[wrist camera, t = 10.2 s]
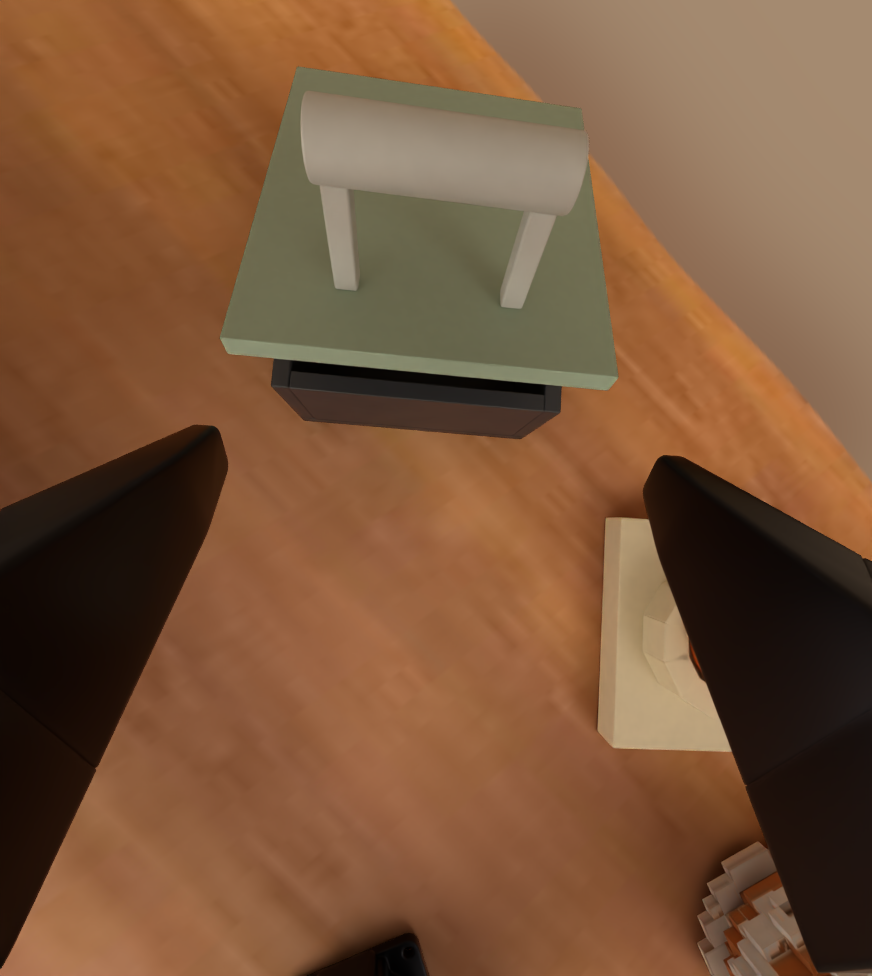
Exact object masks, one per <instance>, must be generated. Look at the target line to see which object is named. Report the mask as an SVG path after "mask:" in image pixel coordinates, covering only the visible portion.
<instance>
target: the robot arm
mask: <svg viewBox="0 0 872 976" xmlns="http://www.w3.org/2000/svg"><path fill="white" fill-rule="evenodd" d="M227 471H228V459H227V455H226V452H225V448H224V445H223V441H222V438H221V434H220V432H219V430H218V429H217V428H216V427H215V426H209V425H192V426H190V427H187V428H185V429H183V430H181V431H178V432H176V433H174V434H171V435H169V436H167V437H165V438H162V439H160V440H158V441H155V442H153V443H151V444H149V445H146V446H144V447H142V448H139V449H137V450H135V451H133V452H130V453H128V454H126V455H123V456H121V457H119V458H117V459H114V460H112V461H110V462H107V463H105V464H103V465H100V466H98V467H96V468H94V469H91V470H89V471H87V472H84V473H82V474H80V475H78V476H75V477H73V478H71V479H68V480H66V481H64V482H62V483H59V484H57V485H55V486H52V487H50V488H48V489H46V490H43V491H41V492H39V493H36V494H34V495H32V496H29V497H27V498H25V499H23V500H20V501H18V502H16V503H13V504H11V505H9V506H7V507H4V508H2V509H1V511H0V969H1V968H2V966H3V965H4V963H5V961H6V959H7V957H8V956H9V954H10V952H11V950H12V948H13V946H14V944H15V942H16V940H17V938H18V935H19V933H20V931H21V929H22V927H23V925H24V923H25V921H26V918H27V916H28V914H29V912H30V910H31V908H32V906H33V904H34V901H35V899H36V897H37V895H38V893H39V891H40V889H41V887H42V885H43V882H44V880H45V878H46V876H47V874H48V872H49V870H50V868H51V865H52V863H53V861H54V859H55V857H56V855H57V853H58V851H59V848H60V846H61V844H62V842H63V840H64V838H65V836H66V834H67V831H68V829H69V827H70V825H71V823H72V821H73V819H74V817H75V814H76V812H77V810H78V808H79V806H80V804H81V802H82V800H83V797H84V795H85V793H86V791H87V789H88V787H89V785H90V783H91V781H92V778H93V776H94V774H95V772H96V769H95V768H96V767H97V766H98V765H99V763H100V760H101V758H102V756H103V754H104V752H105V750H106V748H107V746H108V744H109V741H110V739H111V737H112V735H113V733H114V731H115V729H116V727H117V724H118V722H119V720H120V718H121V716H122V714H123V712H124V710H125V707H126V705H127V703H128V701H129V699H130V697H131V695H132V693H133V690H134V688H135V686H136V684H137V682H138V680H139V678H140V676H141V673H142V671H143V669H144V667H145V665H146V663H147V661H148V659H149V656H150V654H151V652H152V650H153V648H154V646H155V644H156V642H157V639H158V637H159V635H160V633H161V631H162V629H163V627H164V625H165V622H166V620H167V618H168V616H169V614H170V612H171V610H172V608H173V605H174V603H175V601H176V599H177V597H178V595H179V593H180V591H181V588H182V586H183V584H184V582H185V580H186V578H187V576H188V574H189V571H190V569H191V567H192V565H193V563H194V561H195V559H196V557H197V554H198V552H199V550H200V548H201V546H202V544H203V542H204V539H205V537H206V535H207V532H208V530H209V527H210V524H211V521H212V518H213V515H214V512H215V509H216V506H217V503H218V499H219V496H220V493H221V490H222V487H223V484H224V481H225V478H226V475H227ZM643 499H644V503H645V507H646V511H647V515H648V519H649V523H650V527H651V531H652V535H653V539H654V543H655V547H656V550H657V554H658V557H659V560H660V563H661V566H662V569H663V571H664V574H665V577H666V579H667V582H668V584H669V587H670V590H671V592H672V595H673V598H674V600H675V603H676V606H677V608H678V611H679V613H680V616H681V619H682V621H683V624H684V627H685V629H686V632H687V635H688V637H689V640H690V642H691V645H692V648H693V650H694V653H695V656H696V658H697V661H698V663H699V666H700V669H701V671H702V674H703V677H704V679H705V682H706V685H707V687H708V690H709V692H710V695H711V698H712V700H713V703H714V706H715V708H716V711H717V714H718V716H719V719H720V721H721V724H722V727H723V729H724V732H725V735H726V737H727V740H728V743H729V745H730V748H731V750H732V753H733V756H734V758H735V761H736V764H737V766H738V769H739V771H740V774H741V777H742V779H743V782H744V784H745V785H747V786H746V791H747V793H748V796H749V799H750V801H751V804H752V807H753V809H754V812H755V814H756V817H757V820H758V822H759V825H760V828H761V830H762V833H763V835H764V838H765V841H766V843H767V846H768V849H769V851H770V854H771V857H772V859H773V862H774V865H775V867H776V870H777V872H778V875H779V878H780V880H781V883H782V886H783V888H784V891H785V894H786V896H787V899H788V901H789V904H790V907H791V909H792V912H793V915H794V917H795V920H796V923H797V925H798V928H799V930H800V933H801V936H802V938H803V941H804V944H805V946H806V949H807V951H808V954H809V956H810V958H811V961H812V963H813V965H814V967H815V969H816V971H817V972H818V973H872V561H870V560H868V559H866V558H863V559H862V557H861V555H859V554H857V553H856V552H854V551H852V550H850V549H848V548H846V547H845V546H843V545H841V544H839V543H837V542H836V541H834V540H832V539H830V538H828V537H827V536H825V535H823V534H821V533H819V532H818V531H816V530H814V529H812V528H810V527H809V526H807V525H805V524H803V523H801V522H800V521H798V520H796V519H794V518H792V517H791V516H789V515H787V514H785V513H783V512H782V511H780V510H778V509H776V508H774V507H773V506H771V505H769V504H767V503H765V502H763V501H762V500H760V499H758V498H756V497H754V496H753V495H751V494H749V493H747V492H745V491H744V490H742V489H740V488H738V487H736V486H735V485H733V484H731V483H729V482H727V481H726V480H724V479H722V478H720V477H718V476H717V475H715V474H713V473H711V472H709V471H708V470H706V469H704V468H702V467H700V466H699V465H697V464H695V463H693V462H691V461H690V460H688V459H686V458H684V457H681V456H670V455H663V456H661V457H659V458H658V459H657V461H656V462H655V464H654V466H653V469H652V471H651V473H650V475H649V477H648V479H647V481H646V483H645V485H644V488H643ZM406 947H411V948H412V949H410V950H406V949H405V948H406ZM307 976H429V973H428V970H427V966H426V963H425V960H424V957H423V953H422V950H421V947H420V944H419V940H418V938H417V937H416V936H415V935H414V934H412V933H407V934H403V935H401V936H399V937H396V938H394V939H392V940H389V941H387V942H385V943H382V944H380V945H378V946H375V947H373V948H371V949H368V950H366V951H364V952H361V953H359V954H356V955H354V956H352V957H349V958H347V959H345V960H342V961H340V962H338V963H335V964H333V965H331V966H328V967H326V968H324V969H321V970H319V971H317V972H314V973H312V974H309V975H307Z"/></svg>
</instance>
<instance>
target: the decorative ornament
mask: <svg viewBox="0 0 872 976" xmlns="http://www.w3.org/2000/svg"><path fill="white" fill-rule="evenodd" d="M721 864H722V866H723V868H724V870H725V873H724V874H722V875H721V876H719V877H717V878H715V879H714V880H712V881H710V882H708V883H707V885H708V888H709V890H710V892H711V895H709V896H707V897H705V898H704V899H702V901H703V903H704V906H705V908H706V911H704V912H703V913H701V914H699V915H697V917H698V919H699V921H700V924H701V926H702V928H703V931H704V933H705V935H706V938H704V939H702V940H701V941H699V942H697V944H698V947H699V949H700V951H701V954H702V956H703V958H704V960H705V963H706V965H707V967H708V970H709V972H710V974H711V976H872V973H818V972H817V971H816V969H815V967H814V965H813V963H812V961H811V958H810V956H809V954H808V951H807V949H806V946H805V944H804V941H803V938H802V936H801V933H800V930H799V928H798V925H797V923H796V920H795V917H794V915H793V912H792V909H791V907H790V904H789V901H788V899H787V896H786V894H785V891H784V888H783V886H782V883H781V880H780V878H779V875H778V872H777V870H776V867H775V865H774V862H773V859H772V857H771V854H770V851H769V849H766V848H765V847H764V846H763V845H762V844H761V843H760V842H758V841H757V842H756V843H754V844H752V845H750V846H749V847H747V848H745V849H743V850H741V851H740V852H738V853H736V854H734V855H733V856H731V857H729V858H727V859H726V860H724V861H722V862H721Z"/></svg>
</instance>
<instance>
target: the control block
mask: <svg viewBox="0 0 872 976" xmlns="http://www.w3.org/2000/svg"><path fill="white" fill-rule="evenodd" d="M598 732H599V733H600V734H601V736H602V737H603V738H604V739H605V740H606V741H607V742H608V743H609V744H610V745H611V746H612V747H613V748H623V749H656V750H688V751H721V752H732V750H731V748H730V745H729V743H728V740H727V737H726V735H725V732H724V729H723V727H722V724H721V721H720V719H719V716H718V714H717V711H716V708H715V706H714V703H713V700H712V698H711V695H710V692H709V690H708V687H707V685H706V682H705V679H704V677H703V674H702V672H701V671H700V669H699V668H698V667H697V665H696V663H695V661H694V659H693V656H692V653H691V648H690V640H689V637H688V635H687V632H686V629H685V627H684V624H683V621H682V619H681V616H680V613H679V611H678V608H677V606H676V603H675V600H674V598H673V595H672V592H671V590H670V587H669V584H668V582H667V579H666V577H665V574H664V571H663V569H662V566H661V563H660V560H659V557H658V554H657V550H656V547H655V543H654V539H653V535H652V531H651V527H650V523H649V519H639V518H625V517H607V518H606V523H605V549H604V575H603V601H602V627H601V653H600V679H599V705H598Z"/></svg>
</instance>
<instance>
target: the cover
mask: <svg viewBox="0 0 872 976" xmlns="http://www.w3.org/2000/svg"><path fill="white" fill-rule="evenodd" d="M588 154H589V137H588V133H587V132H586V131H585V130H584V123H583V116H582V110H581V108H575V107H568V106H561V105H555V104H548V103H541V102H535V101H528V100H521V99H514V98H507V97H501V96H494V95H487V94H480V93H474V92H467V91H460V90H453V89H447V88H440V87H433V86H426V85H420V84H413V83H406V82H399V81H393V80H386V79H379V78H372V77H365V76H359V75H352V74H345V73H338V72H332V71H325V70H318V69H311V68H305V67H297V69H296V73H295V76H294V80H293V83H292V87H291V90H290V94H289V97H288V101H287V104H286V108H285V111H284V115H283V118H282V122H281V125H280V129H279V132H278V136H277V139H276V143H275V146H274V150H273V153H272V157H271V160H270V164H269V167H268V171H267V174H266V178H265V181H264V185H263V188H262V192H261V195H260V199H259V202H258V206H257V209H256V213H255V216H254V220H253V223H252V227H251V230H250V234H249V237H248V241H247V244H246V248H245V251H244V255H243V258H242V262H241V265H240V269H239V272H238V276H237V279H236V283H235V286H234V290H233V293H232V297H231V300H230V304H229V307H228V311H227V314H226V318H225V321H224V325H223V328H222V332H221V335H220V340H221V341H222V343H223V345H224V347H225V349H226V351H227V353H228V354H234V355H245V356H255V357H265V358H276V359H286V360H296V361H307V362H317V363H327V364H338V365H348V366H358V367H369V368H379V369H389V370H400V371H410V372H420V373H431V374H441V375H452V376H462V377H472V378H483V379H493V380H503V381H514V382H524V383H534V384H545V385H555V386H565V387H576V388H586V389H596V390H609V389H610V387H611V386H612V385H613V384H614V382H615V381H616V380H617V379H618V370H617V363H616V356H615V348H614V341H613V334H612V326H611V319H610V312H609V305H608V297H607V290H606V283H605V276H604V268H603V261H602V254H601V247H600V239H599V232H598V225H597V218H596V210H595V203H594V196H593V189H592V181H591V174H590V167H589V160H588Z"/></svg>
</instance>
